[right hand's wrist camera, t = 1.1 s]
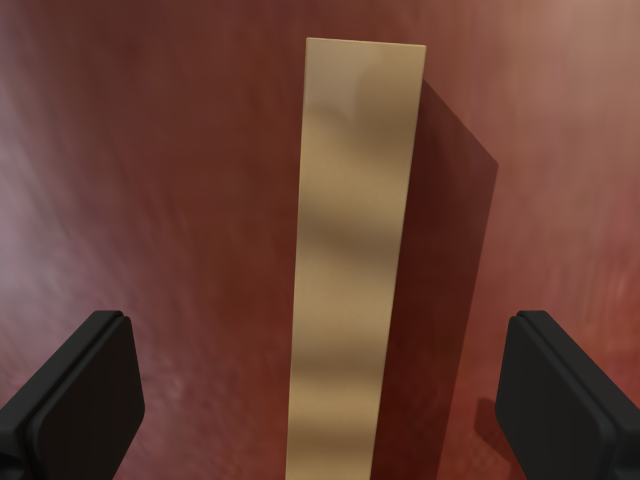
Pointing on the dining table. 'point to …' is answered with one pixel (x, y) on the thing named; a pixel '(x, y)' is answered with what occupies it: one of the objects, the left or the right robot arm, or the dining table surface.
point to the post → (348, 247)
